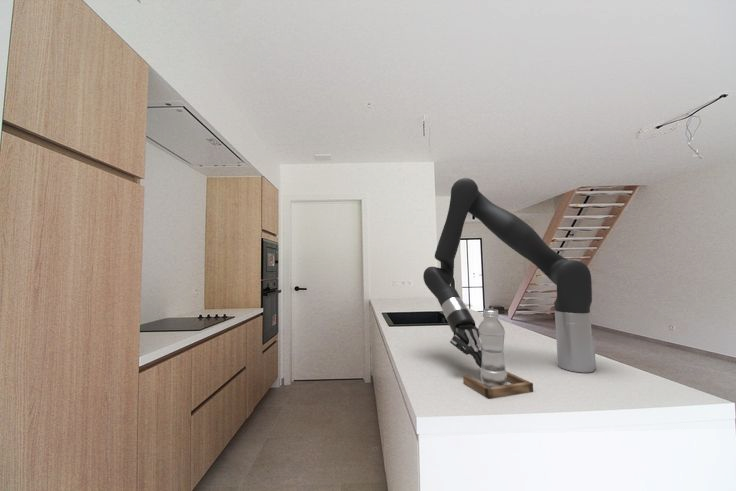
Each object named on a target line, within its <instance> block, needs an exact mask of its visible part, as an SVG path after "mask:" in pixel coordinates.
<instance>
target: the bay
mask: <svg viewBox="0 0 736 491" xmlns="http://www.w3.org/2000/svg"><path fill="white" fill-rule="evenodd" d="M506 372H507V377H508V381H507V383H509V384H507V385H503V386H496V387H487V386H485V385H484V384H483V383H482V382H481V381H478V380H476V379H474V378H473V377H472V376H469V375H465V374H464V375H463V376H462V380H463V382H462V384H464V385H465V386H467V387H469V388H471V389H472V390H474V391H475V392H477V393H478V394H480V395H482V396H484V397H485V398H487V399H495V398H501V397H507V396H514V395H519V394H525V393H531V392H534V383H533V382H531V381H529V380H527V379H524V378H522V377H520V376H517V375H516V374H513V373H511V372H509V371H507V370H506Z"/></svg>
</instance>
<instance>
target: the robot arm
mask: <svg viewBox="0 0 736 491" xmlns="http://www.w3.org/2000/svg"><path fill="white" fill-rule="evenodd" d="M468 214H471V215H472V216H473V217H475V218H476V219H477V220H479V221H480V222H481V223H482V224H483V225H484V226H485V227H486V228H487V229H488V231H489V232H491V233H492V234H493V235H495V236H496V237H497V238H498V239H499V240H501V241H502V242H503V243H504V244H506V246H508V247H509V248H511V249H512V250H514V251H515V252H516V253H517V254H519V255H520V256H522V257H524V258H525V259H526V260H528V261H530V263H532V264H533V265H535V266H536V267H537V268H538V269H539V270H540V271H541V272H542V273H543V274H544V275H545V276H546V277H547V278H548V279H549V280H550V281H551V282H552V283H554V285H556V300H554V319H555V320H554V321H555V323H554V324H555V336H556V354H557V355H556V356H557V357H556V358H557V359H556V360H557V366H558V367H559V368H561V369H563V370H567V371H571V372H577V373H593V372H594V371H595V370H596V369H597V360H596V348H595V337H594V336H592V335H593V330H592V320H591V306H592V302H593V286H592V276H591V275H592V274H591V270H590V269H589V266H587V264H585V263H583V261H579V260H574V259H567V258H566V257H564V256H562V255H561V254H559V253H557V252H556V251H554V250H553V249H552V248H551V247H550V246H548V245H547V243H546V242H545V241H544V240H543V239H542V238H541V236H540V235H539V233H537V232H536V231H535V229H534V227H531V226H530V225H529V224H528V223H526V221H524V220H523V219H521V218H520V217H519V216H517V215H516V214H514V213H512V212H510V211H508V210H506V209H505V208H503V207H500V206H498V205H496V204H495V203H493V202H492V201H490V200H489V199H488V198H487V197H486V196H485V195H484V194H483V193H481V191H480V190H479V187H478V184H477V183H476V181H475V180H473V179H471V178H469V177H463V178H460V179H457V181H456V182H454V183H453V184H452V186H451V190H450V200H449V206H448V210H447V215H446V218H445V219H446V220H445V223H444V225H443V228H442V230H441V231H442V232H441V234H440V237H439V239H438V242H437V246H436V248H435V249H436V250H435V252H434V259H435V260H437V261H438V262H440V267H436V266H429V267H427V268H425V270H424V272H423V281H424V284H425V286H426V287H427V289H428V290H429V291H430V292H431V293H432V295H434V297H435V298H436V299H437V301H438V303H439V305H440V307H441V309H442V313H443V315H444V317H445V319H446V321H447V323H448V325H449V327H450V329H451V332H452V333H453V336H452V337H451V339H450V341H449V342H450V344H451V345H453V347H455V348H457V349H458V350H459V351H461V353H463V354H464V355H466V356H467V355H471V357H473V359H474V361H475V363H476V365H477V367H479V369H481V363H482V349H481V342H480V337H479V332H478V328H479V327H477V326H476V322H475V320H474V318H473V316H472V314H471V312H470V311H469V309H468V307H467V305H466V303H464V301H463V299H462V298H461V296H460V295H459V292H458V291H457V289H456V288H455V287H453V285H452V283H453V280H454V275H455V274H454V273H455V272H454V270H455V258H456V254H457V253H458V248H459V246H460V242H461V239H462V233H463V228H464V225H465V221H466V218H467V216H468Z"/></svg>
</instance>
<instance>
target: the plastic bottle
mask: <svg viewBox="0 0 736 491" xmlns="http://www.w3.org/2000/svg"><path fill="white" fill-rule="evenodd" d="M482 317H483V319H482V321H481V322H480V324H479V325H478V327H477V328H478V332H479V340H480V342H481V349H482V363H481V368H480V371H479V372H480V375H479V376H480V382H481V383H482V384H484V385H485V386H487V387H489V388H490V387H496V386H503V385H508V377H507V372H508V371H507V369H506V364H505V357H504V355H505V354H504V350H505V349H504V348H505V347H504V346H505V335H506V334H505V333H506V330H505V328H504V326H503V324H502V323H501V322H500V320H499V317H500V315H499V310H498V309H497V308H496V309H495V308H484V309H483V312H482ZM506 371H507V372H506Z"/></svg>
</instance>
